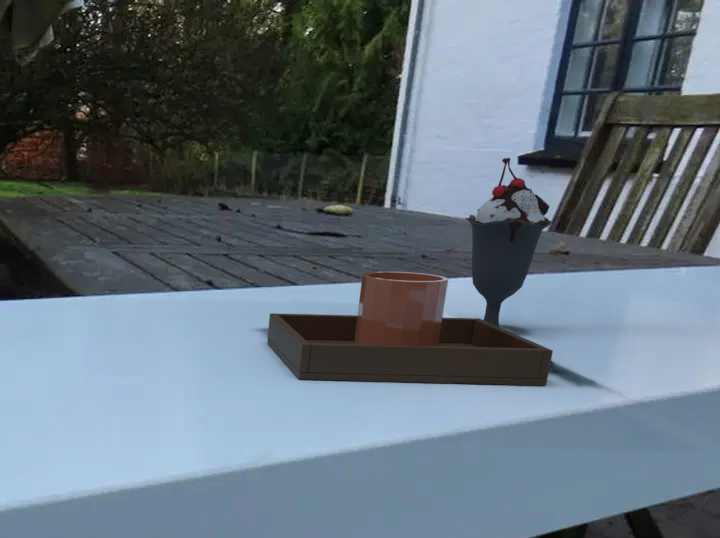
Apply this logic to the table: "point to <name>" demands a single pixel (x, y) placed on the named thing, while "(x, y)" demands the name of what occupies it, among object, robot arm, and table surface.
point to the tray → (407, 353)
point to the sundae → (505, 241)
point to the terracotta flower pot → (400, 309)
